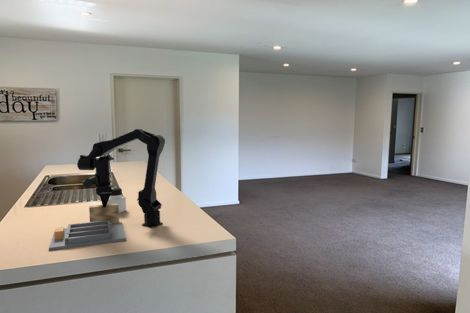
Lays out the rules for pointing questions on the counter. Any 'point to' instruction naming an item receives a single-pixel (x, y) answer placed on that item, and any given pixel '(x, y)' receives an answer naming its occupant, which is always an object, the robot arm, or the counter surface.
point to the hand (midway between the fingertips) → (104, 205)
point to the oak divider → (104, 213)
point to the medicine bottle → (117, 199)
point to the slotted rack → (87, 234)
